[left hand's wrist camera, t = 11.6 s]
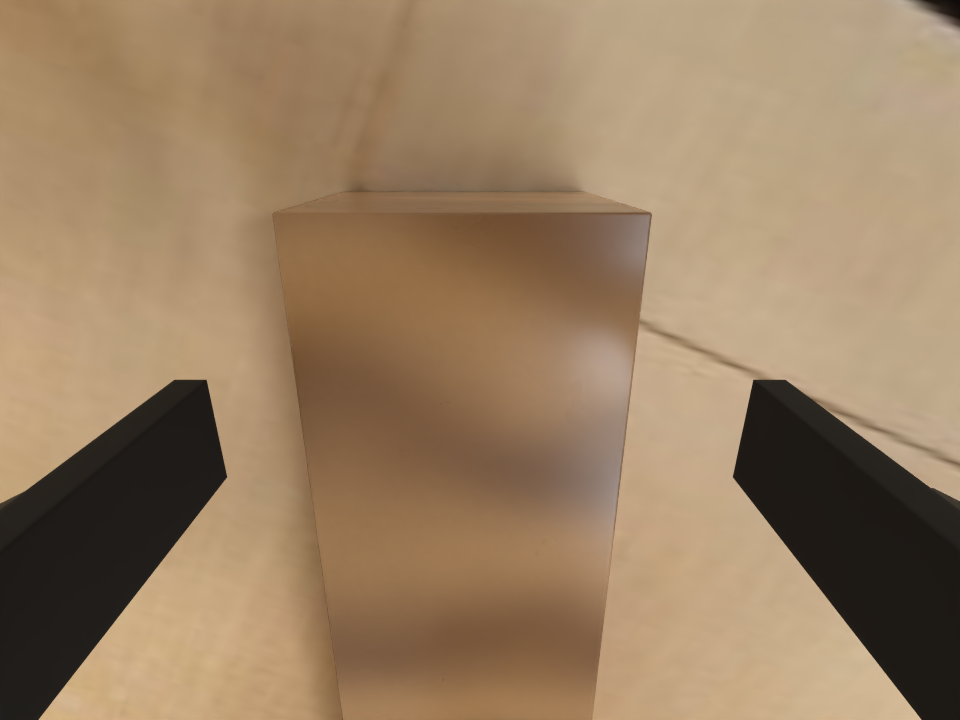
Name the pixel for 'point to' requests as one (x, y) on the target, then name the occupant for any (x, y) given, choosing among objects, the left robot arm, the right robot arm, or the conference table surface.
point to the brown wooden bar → (464, 439)
